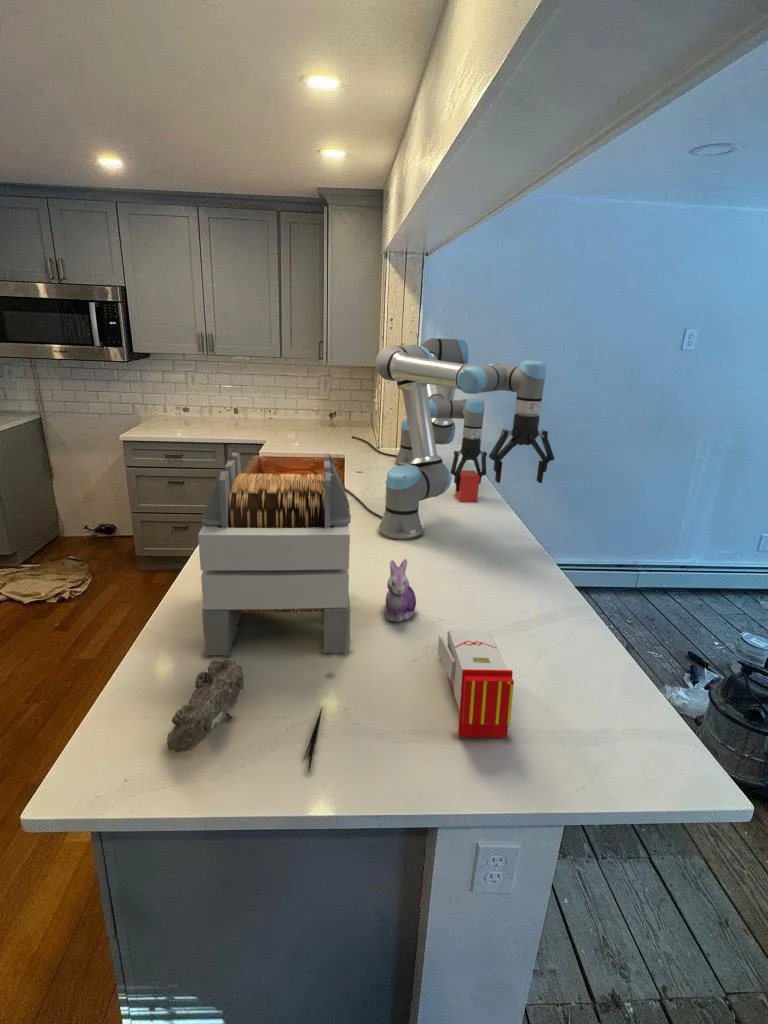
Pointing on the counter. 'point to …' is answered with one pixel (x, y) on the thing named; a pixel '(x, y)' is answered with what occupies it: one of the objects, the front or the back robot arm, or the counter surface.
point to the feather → (313, 740)
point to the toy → (478, 682)
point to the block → (468, 486)
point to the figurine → (399, 594)
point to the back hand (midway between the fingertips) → (466, 490)
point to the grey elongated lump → (206, 705)
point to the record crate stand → (275, 551)
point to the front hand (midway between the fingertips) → (518, 481)
